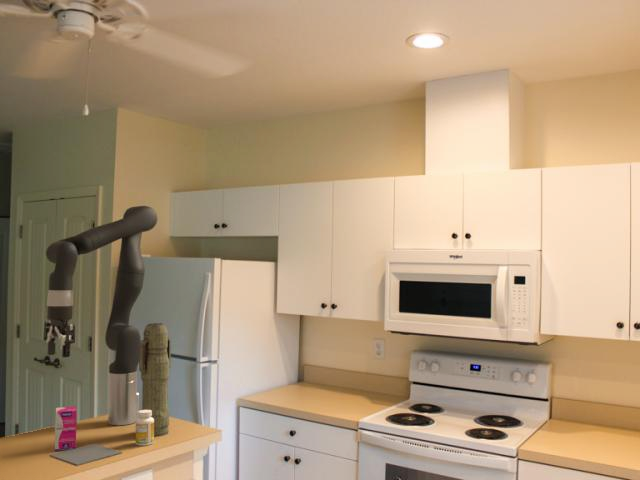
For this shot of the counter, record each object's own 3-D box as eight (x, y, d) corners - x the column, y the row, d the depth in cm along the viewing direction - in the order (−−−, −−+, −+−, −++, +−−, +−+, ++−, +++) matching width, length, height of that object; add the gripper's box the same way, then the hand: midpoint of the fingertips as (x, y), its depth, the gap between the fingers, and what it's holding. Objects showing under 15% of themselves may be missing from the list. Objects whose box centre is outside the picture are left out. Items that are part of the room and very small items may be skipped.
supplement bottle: (148, 439, 192) (148, 408, 193) (157, 443, 188) (157, 411, 189) (132, 443, 188) (132, 411, 189) (140, 447, 185) (141, 414, 185)
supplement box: (54, 451, 180) (55, 411, 181) (54, 446, 186) (55, 407, 186) (76, 449, 182) (76, 409, 183) (75, 444, 188) (76, 405, 188)
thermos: (130, 436, 196) (132, 324, 198) (156, 427, 207) (157, 321, 208) (152, 439, 192) (153, 325, 194) (177, 430, 203) (178, 322, 204)
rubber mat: (94, 444, 187) (94, 443, 187) (122, 453, 179) (122, 452, 179) (49, 455, 176) (49, 454, 176) (77, 465, 168) (77, 464, 168)
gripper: (83, 305, 196) (81, 356, 196) (59, 303, 205) (57, 352, 204) (61, 305, 190) (59, 359, 190) (37, 304, 199) (35, 355, 198)
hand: (58, 355), depth 197 cm, fingers open, 8 cm apart
